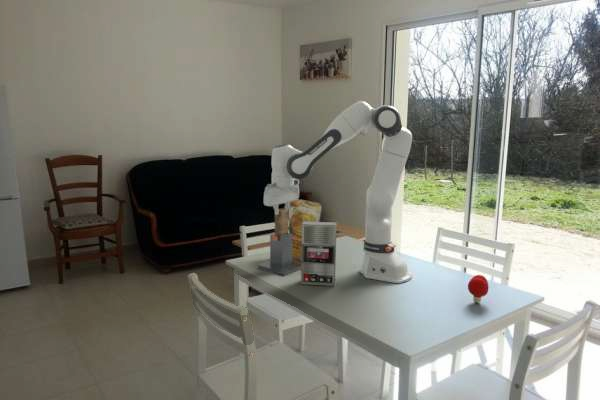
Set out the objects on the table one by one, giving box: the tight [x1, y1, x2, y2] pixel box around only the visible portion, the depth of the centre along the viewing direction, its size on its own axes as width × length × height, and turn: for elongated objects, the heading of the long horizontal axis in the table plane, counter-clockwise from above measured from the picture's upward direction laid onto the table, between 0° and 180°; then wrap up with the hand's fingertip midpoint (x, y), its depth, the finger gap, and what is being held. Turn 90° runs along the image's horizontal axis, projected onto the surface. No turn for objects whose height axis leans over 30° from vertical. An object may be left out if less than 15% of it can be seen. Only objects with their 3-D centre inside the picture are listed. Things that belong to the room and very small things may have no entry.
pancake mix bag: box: [288, 198, 323, 261], centre depth 220 cm, size 7×19×28 cm, turn 48°
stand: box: [257, 232, 301, 277], centre depth 206 cm, size 16×14×16 cm
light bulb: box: [467, 274, 489, 304], centre depth 170 cm, size 9×7×10 cm
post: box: [273, 208, 289, 236], centre depth 204 cm, size 4×4×20 cm
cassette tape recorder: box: [300, 221, 338, 287], centre depth 187 cm, size 14×6×25 cm, turn 83°
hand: (281, 213), depth 203 cm, fingers closed on post, 4 cm apart
